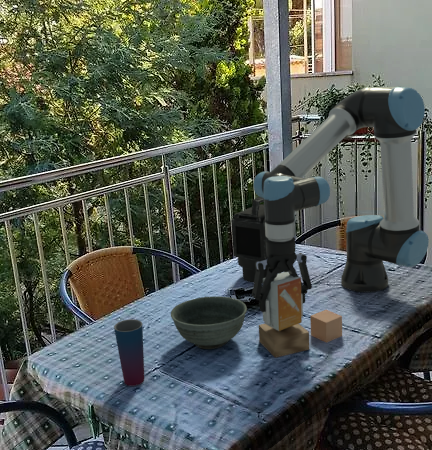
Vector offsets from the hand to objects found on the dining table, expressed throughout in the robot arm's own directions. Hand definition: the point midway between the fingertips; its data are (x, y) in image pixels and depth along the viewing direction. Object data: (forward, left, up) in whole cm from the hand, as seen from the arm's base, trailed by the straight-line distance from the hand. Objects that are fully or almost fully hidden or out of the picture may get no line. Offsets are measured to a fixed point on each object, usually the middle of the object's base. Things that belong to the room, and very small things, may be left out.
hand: (283, 318), depth 156 cm
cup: (+41, 0, -8) cm, 42 cm away
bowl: (+17, -11, -8) cm, 22 cm away
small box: (0, 0, -2) cm, 2 cm away
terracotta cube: (-13, 0, -8) cm, 15 cm away
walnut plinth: (0, 0, -8) cm, 8 cm away
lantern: (-16, -49, -8) cm, 52 cm away
